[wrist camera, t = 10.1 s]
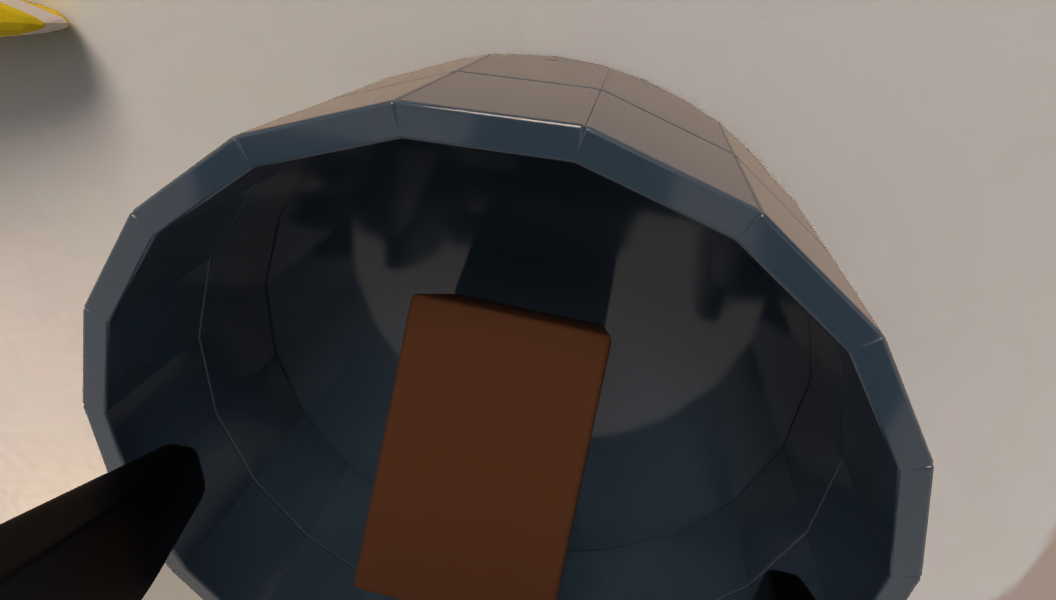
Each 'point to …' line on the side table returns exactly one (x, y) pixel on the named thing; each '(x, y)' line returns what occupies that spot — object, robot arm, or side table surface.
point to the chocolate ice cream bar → (482, 452)
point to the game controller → (28, 18)
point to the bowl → (524, 281)
